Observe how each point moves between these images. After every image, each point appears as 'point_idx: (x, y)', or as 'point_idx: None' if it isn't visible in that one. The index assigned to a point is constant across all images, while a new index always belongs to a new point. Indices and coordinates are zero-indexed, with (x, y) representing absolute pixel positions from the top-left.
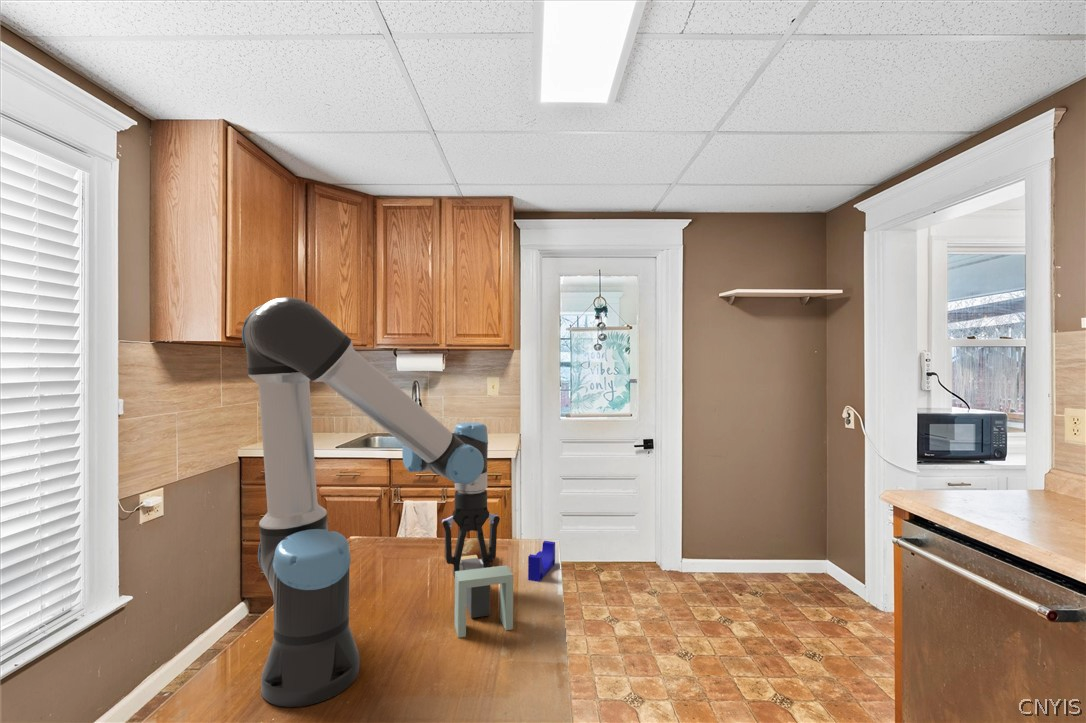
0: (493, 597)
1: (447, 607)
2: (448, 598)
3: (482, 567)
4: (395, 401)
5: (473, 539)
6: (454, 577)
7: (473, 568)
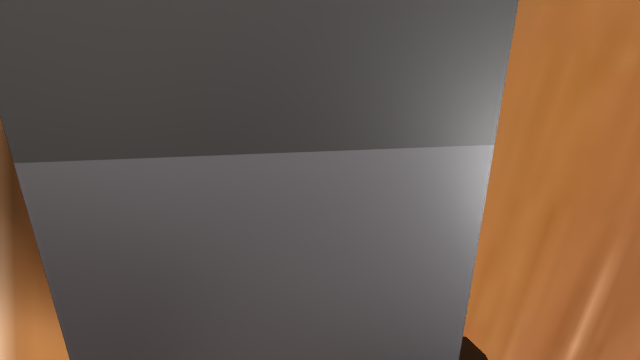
0: None
1: (532, 43)
2: None
3: (76, 353)
4: None
5: None
6: (481, 353)
7: (284, 340)
